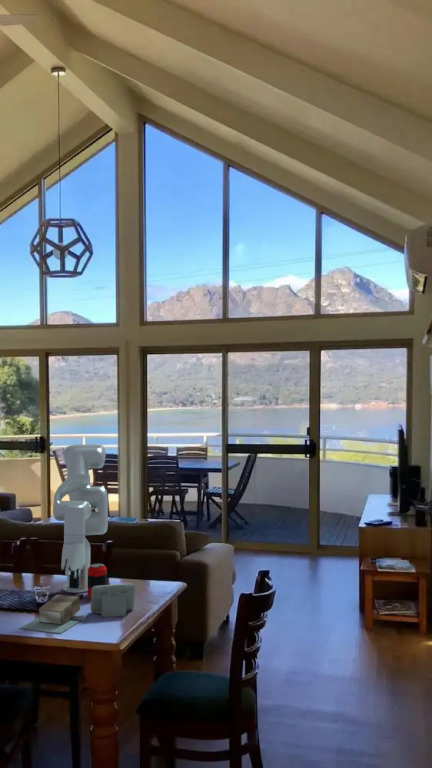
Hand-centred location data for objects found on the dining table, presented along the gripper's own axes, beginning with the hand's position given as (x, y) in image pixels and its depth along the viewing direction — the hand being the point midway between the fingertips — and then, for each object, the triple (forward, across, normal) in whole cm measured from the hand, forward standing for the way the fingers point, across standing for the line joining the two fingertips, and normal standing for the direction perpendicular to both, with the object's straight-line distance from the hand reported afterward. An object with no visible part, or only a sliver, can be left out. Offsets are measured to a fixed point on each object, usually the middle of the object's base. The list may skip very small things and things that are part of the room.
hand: (74, 587), depth 241 cm
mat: (+8, +16, 0) cm, 18 cm away
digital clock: (+9, -3, +14) cm, 17 cm away
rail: (+9, +8, 0) cm, 12 cm away
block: (+4, +4, 0) cm, 6 cm away
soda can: (+9, -21, -2) cm, 23 cm away
